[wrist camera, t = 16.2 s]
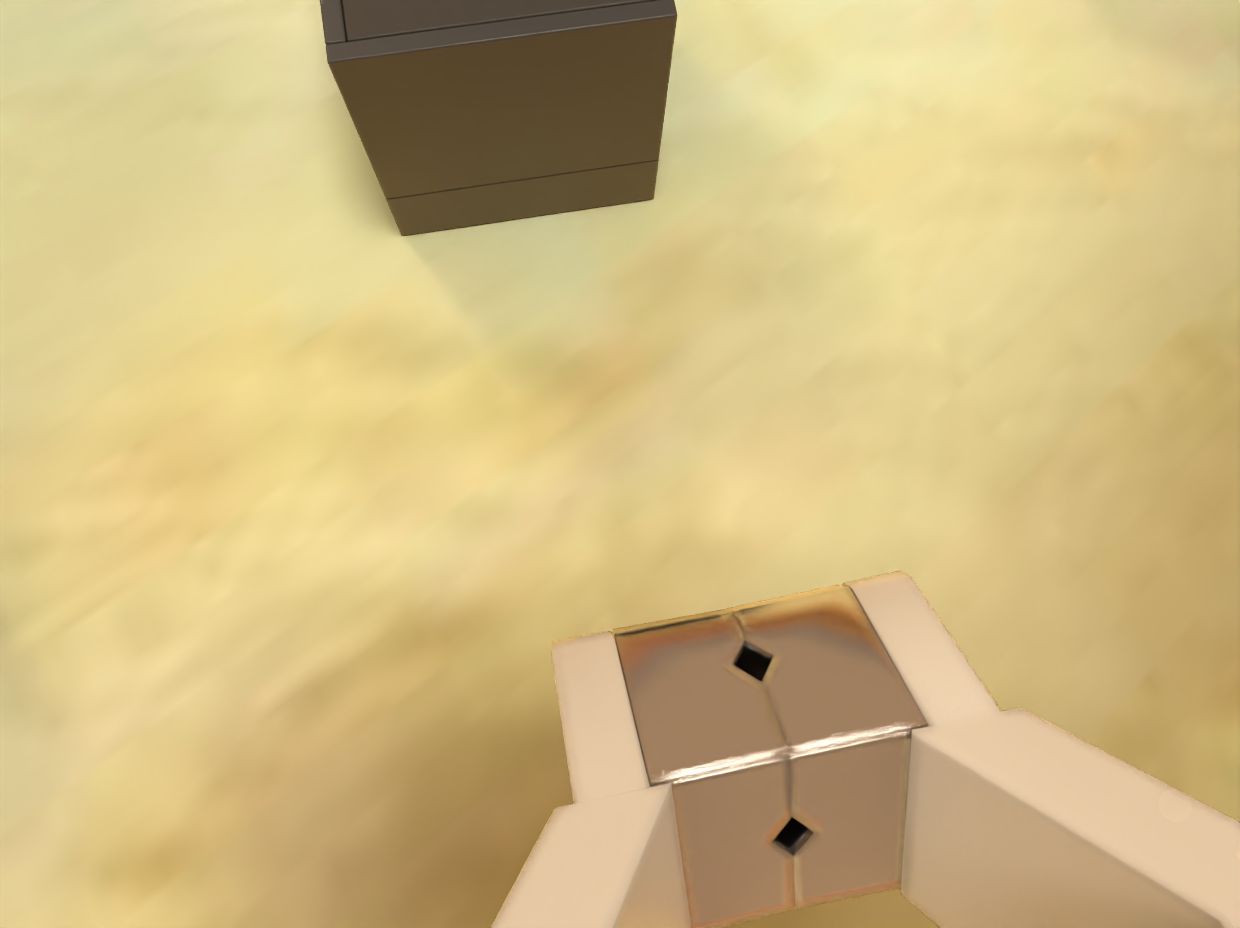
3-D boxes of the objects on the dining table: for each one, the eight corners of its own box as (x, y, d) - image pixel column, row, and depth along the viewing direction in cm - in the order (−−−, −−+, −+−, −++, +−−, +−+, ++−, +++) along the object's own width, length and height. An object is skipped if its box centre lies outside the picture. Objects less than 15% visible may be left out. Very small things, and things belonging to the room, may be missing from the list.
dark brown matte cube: (677, 15, 28) (618, -267, 30) (327, 62, 27) (290, -230, 29) (653, 199, 39) (610, -18, 41) (401, 236, 38) (371, 13, 40)
